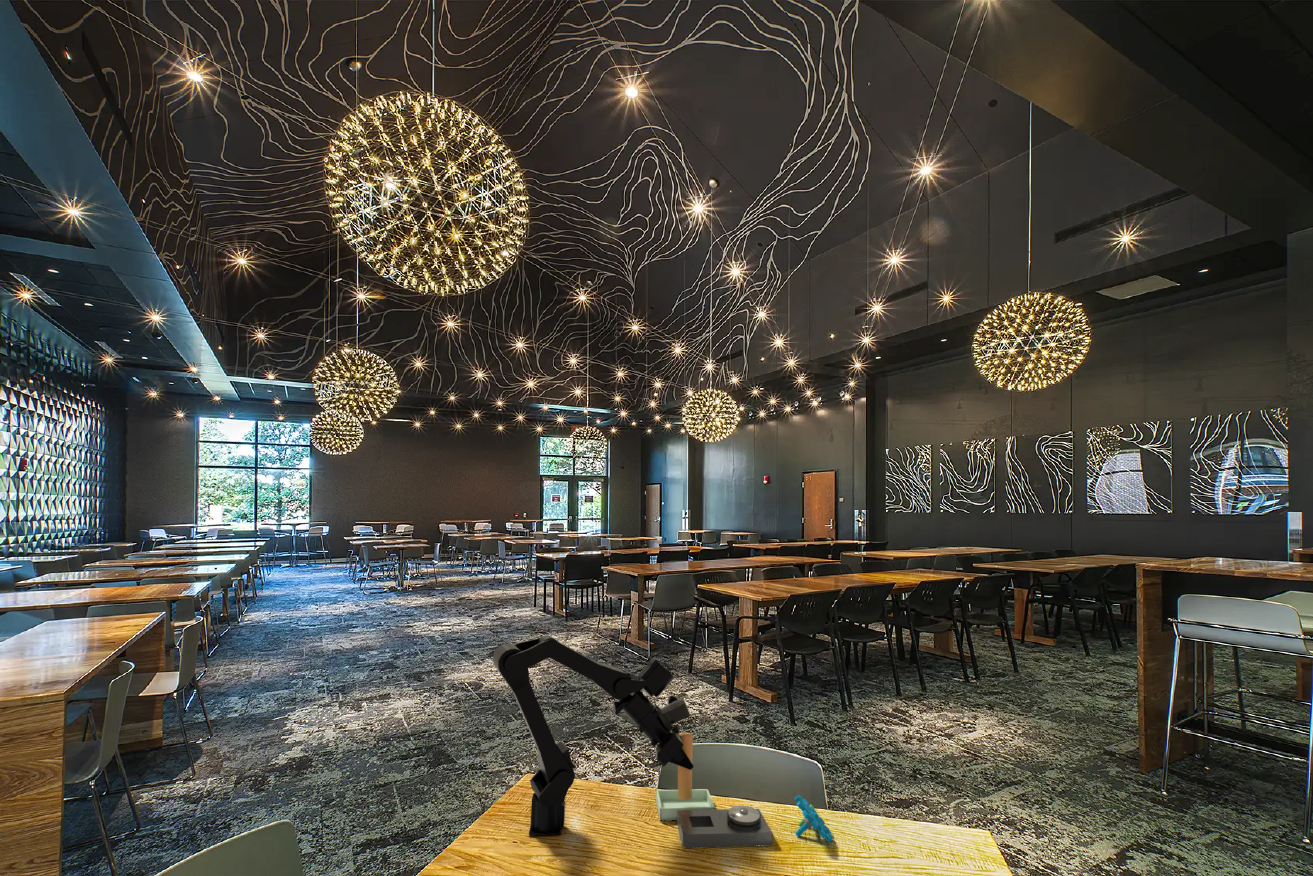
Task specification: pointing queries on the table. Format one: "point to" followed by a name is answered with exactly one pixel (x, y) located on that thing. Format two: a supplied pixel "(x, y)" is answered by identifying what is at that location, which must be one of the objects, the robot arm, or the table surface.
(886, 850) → the table surface
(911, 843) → the table surface
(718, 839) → the plate
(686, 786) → the pin
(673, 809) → the tray
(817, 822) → the gear
